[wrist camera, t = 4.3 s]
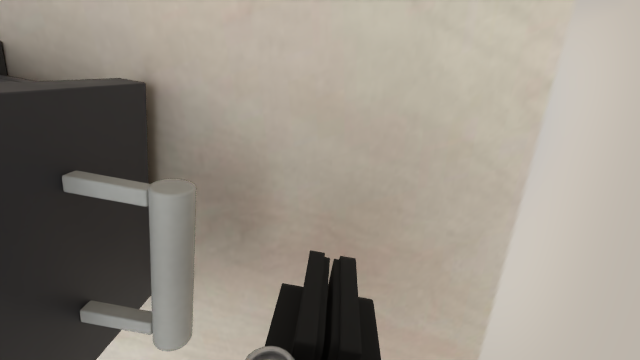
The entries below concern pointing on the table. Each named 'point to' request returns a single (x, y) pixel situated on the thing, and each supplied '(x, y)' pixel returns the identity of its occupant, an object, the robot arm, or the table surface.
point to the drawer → (87, 223)
